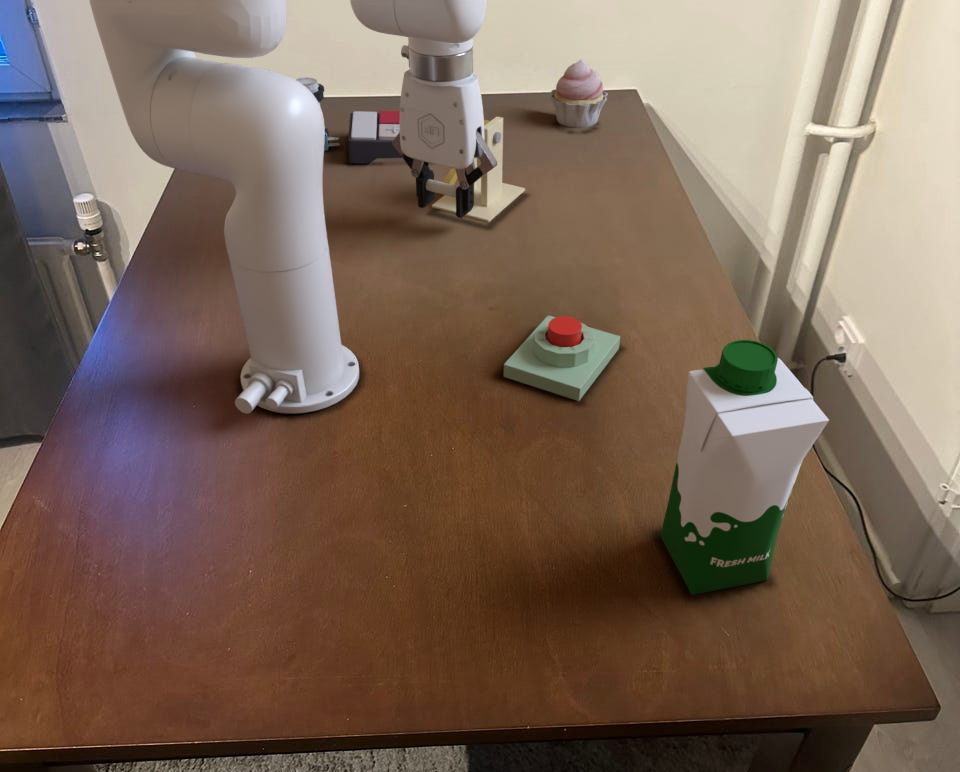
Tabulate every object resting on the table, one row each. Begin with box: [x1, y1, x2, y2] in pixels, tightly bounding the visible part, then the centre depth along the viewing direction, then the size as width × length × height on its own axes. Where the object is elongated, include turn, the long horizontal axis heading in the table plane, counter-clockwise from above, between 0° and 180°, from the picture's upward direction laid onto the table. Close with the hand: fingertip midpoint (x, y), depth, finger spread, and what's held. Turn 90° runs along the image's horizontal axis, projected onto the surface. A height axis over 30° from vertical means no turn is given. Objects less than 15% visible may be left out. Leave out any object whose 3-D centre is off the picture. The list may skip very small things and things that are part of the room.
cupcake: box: [549, 59, 608, 129], centre depth 142 cm, size 9×9×10 cm
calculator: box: [347, 110, 403, 165], centre depth 138 cm, size 11×4×15 cm
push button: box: [295, 76, 340, 152], centre depth 136 cm, size 7×5×10 cm
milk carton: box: [660, 339, 830, 596], centre depth 71 cm, size 9×9×20 cm
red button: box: [548, 315, 582, 347], centre depth 96 cm, size 4×4×2 cm
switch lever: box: [426, 119, 490, 197], centre depth 117 cm, size 12×5×2 cm, turn 151°
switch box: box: [503, 315, 621, 402], centre depth 97 cm, size 11×9×4 cm
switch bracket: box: [431, 116, 526, 223], centre depth 122 cm, size 11×9×12 cm
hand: (445, 207), depth 117 cm, fingers closed on switch lever, 5 cm apart
